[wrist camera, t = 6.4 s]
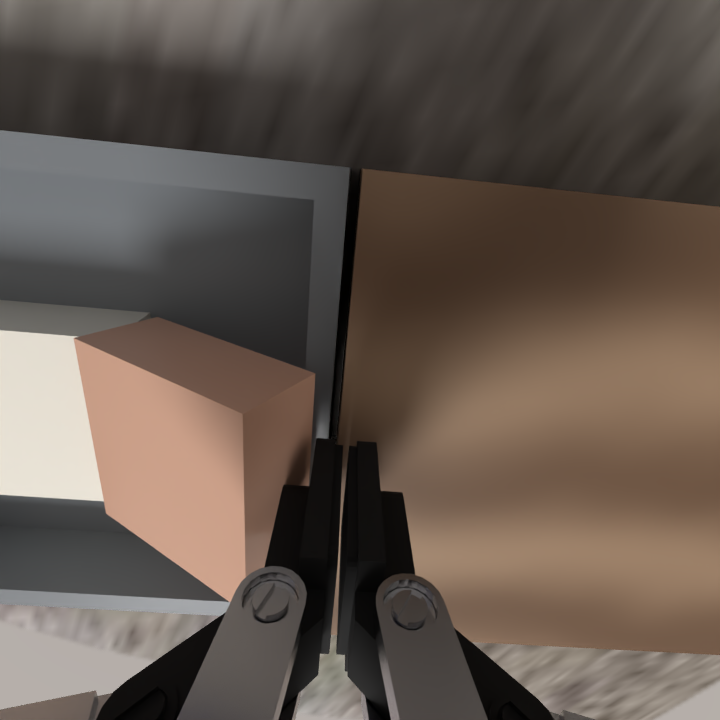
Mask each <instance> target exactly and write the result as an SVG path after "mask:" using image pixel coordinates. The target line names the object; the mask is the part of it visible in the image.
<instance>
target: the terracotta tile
mask: <svg viewBox="0 0 720 720" xmlns="http://www.w3.org/2000/svg"><path fill="white" fill-rule="evenodd" d="M74 343H75V349H76V354H77V360H78V365H79V370H80V376H81V381H82V386H83V392H84V397H85V403H86V408H87V413H88V419H89V424H90V429H91V435H92V440H93V446H94V451H95V456H96V462H97V467H98V472H99V478H100V483H101V489H102V494H103V499H104V505H105V510H106V514H108V515H109V516H110V517H112V518H113V519H115V520H116V521H117V522H119V523H120V524H122V525H123V526H124V527H126V528H127V529H128V530H130V531H131V532H133V533H134V534H135V535H137V536H138V537H140V538H141V539H142V540H144V541H145V542H147V543H148V544H149V545H151V546H152V547H154V548H155V549H156V550H158V551H159V552H161V553H162V554H163V555H165V556H166V557H168V558H169V559H170V560H172V561H173V562H175V563H176V564H177V565H179V566H180V567H181V568H183V569H184V570H186V571H187V572H188V573H190V574H191V575H193V576H194V577H195V578H197V579H198V580H200V581H201V582H202V583H204V584H205V585H207V586H208V587H209V588H211V589H212V590H214V591H215V592H216V593H218V594H219V595H221V596H222V597H223V598H225V599H226V600H228V601H229V602H231V600H232V598H233V595H234V593H235V591H236V589H237V588H238V586H239V585H240V583H241V581H242V580H243V579H244V578H246V577H247V576H248V575H249V574H250V573H252V572H254V571H256V570H258V569H260V568H264V566H265V562H266V558H267V553H268V549H269V544H270V540H271V536H272V531H273V527H274V522H275V518H276V514H277V509H278V505H279V500H280V496H281V492H282V488H283V485H299V486H309V474H310V457H311V440H312V423H313V406H314V389H315V373H313V372H310V371H307V370H305V369H302V368H299V367H296V366H293V365H291V364H288V363H285V362H282V361H279V360H277V359H274V358H271V357H268V356H266V355H263V354H260V353H257V352H254V351H252V350H249V349H246V348H243V347H240V346H238V345H235V344H232V343H229V342H226V341H224V340H221V339H218V338H215V337H213V336H210V335H207V334H204V333H201V332H199V331H196V330H193V329H190V328H187V327H185V326H182V325H179V324H176V323H173V322H171V321H168V320H165V319H162V318H160V317H155V318H151V319H147V320H143V321H139V322H135V323H131V324H127V325H123V326H119V327H115V328H111V329H107V330H103V331H99V332H95V333H91V334H87V335H83V336H79V337H75V338H74Z"/></svg>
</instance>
